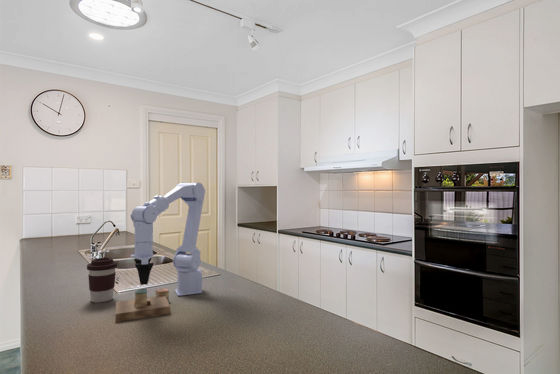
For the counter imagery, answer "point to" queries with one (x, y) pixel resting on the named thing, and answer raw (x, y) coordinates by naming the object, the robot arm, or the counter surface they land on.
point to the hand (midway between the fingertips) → (143, 281)
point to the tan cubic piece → (163, 293)
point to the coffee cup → (101, 279)
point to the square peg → (140, 298)
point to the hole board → (142, 309)
